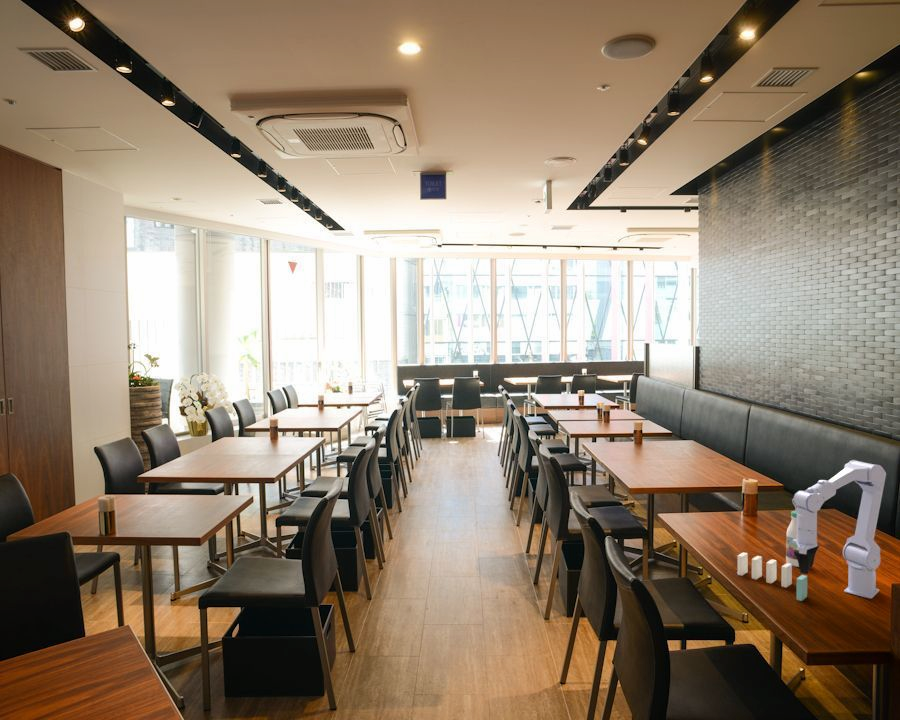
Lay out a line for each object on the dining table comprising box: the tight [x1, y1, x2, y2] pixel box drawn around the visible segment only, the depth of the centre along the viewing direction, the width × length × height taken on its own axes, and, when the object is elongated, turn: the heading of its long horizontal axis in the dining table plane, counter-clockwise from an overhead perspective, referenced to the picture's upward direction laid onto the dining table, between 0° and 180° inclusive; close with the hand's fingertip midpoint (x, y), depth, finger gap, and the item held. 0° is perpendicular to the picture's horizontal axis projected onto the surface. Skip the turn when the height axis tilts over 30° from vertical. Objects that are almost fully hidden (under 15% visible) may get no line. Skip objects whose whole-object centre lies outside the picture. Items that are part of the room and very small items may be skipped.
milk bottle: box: [785, 510, 799, 568], centre depth 234 cm, size 8×8×20 cm
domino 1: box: [736, 551, 749, 576], centre depth 226 cm, size 5×2×7 cm, turn 132°
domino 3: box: [765, 558, 778, 584], centre depth 219 cm, size 5×2×7 cm, turn 132°
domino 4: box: [780, 562, 793, 588], centre depth 215 cm, size 5×2×7 cm, turn 132°
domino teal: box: [795, 574, 808, 602], centre depth 204 cm, size 5×2×7 cm, turn 132°
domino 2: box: [751, 555, 763, 580], centre depth 222 cm, size 5×2×7 cm, turn 132°
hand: (806, 569), depth 202 cm, fingers open, 7 cm apart
